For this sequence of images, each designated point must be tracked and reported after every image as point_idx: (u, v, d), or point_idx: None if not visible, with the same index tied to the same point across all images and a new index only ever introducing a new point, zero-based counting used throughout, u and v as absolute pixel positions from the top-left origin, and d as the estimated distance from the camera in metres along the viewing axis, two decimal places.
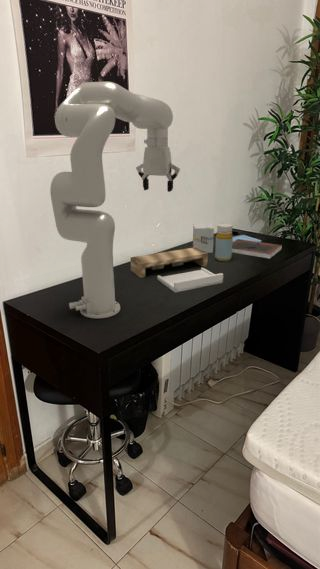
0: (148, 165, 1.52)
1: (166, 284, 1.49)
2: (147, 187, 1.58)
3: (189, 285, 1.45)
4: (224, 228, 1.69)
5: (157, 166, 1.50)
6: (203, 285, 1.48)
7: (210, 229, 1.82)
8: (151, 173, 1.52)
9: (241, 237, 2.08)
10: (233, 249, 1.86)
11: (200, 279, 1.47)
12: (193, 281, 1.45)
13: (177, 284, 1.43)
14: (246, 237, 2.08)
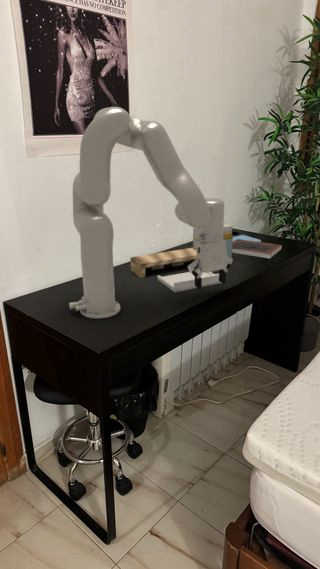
0: (208, 262, 1.35)
1: (166, 284, 1.49)
2: None
3: (189, 285, 1.45)
4: (224, 228, 1.69)
5: (218, 261, 1.36)
6: (203, 285, 1.48)
7: None
8: (211, 269, 1.36)
9: (241, 237, 2.08)
10: (233, 249, 1.86)
11: None
12: (193, 281, 1.45)
13: (177, 284, 1.43)
14: (246, 237, 2.08)
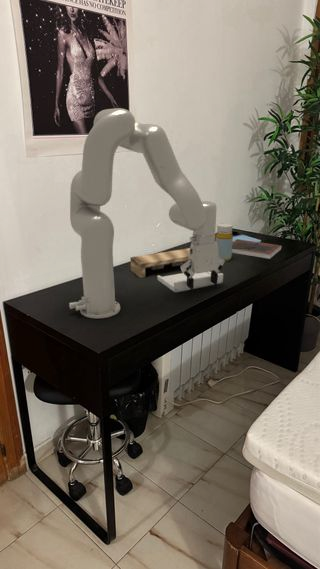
0: (200, 263, 1.39)
1: (166, 284, 1.49)
2: None
3: None
4: (224, 228, 1.69)
5: (209, 262, 1.40)
6: (203, 285, 1.48)
7: None
8: (203, 270, 1.40)
9: (241, 237, 2.08)
10: (233, 249, 1.86)
11: (200, 279, 1.47)
12: None
13: (177, 284, 1.43)
14: (246, 237, 2.08)
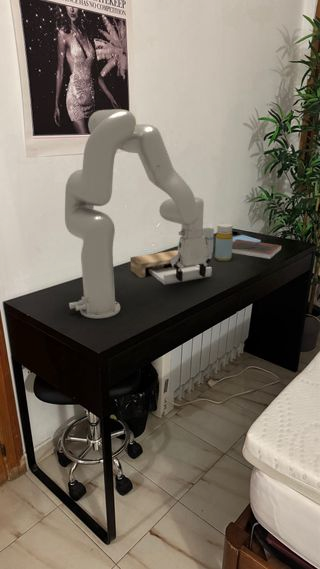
0: (189, 256, 1.45)
1: (157, 277, 1.55)
2: None
3: None
4: (224, 228, 1.69)
5: (197, 256, 1.47)
6: (192, 278, 1.55)
7: (210, 229, 1.82)
8: (191, 263, 1.47)
9: (240, 237, 2.08)
10: (233, 249, 1.85)
11: (189, 272, 1.53)
12: None
13: (167, 277, 1.50)
14: (245, 237, 2.08)
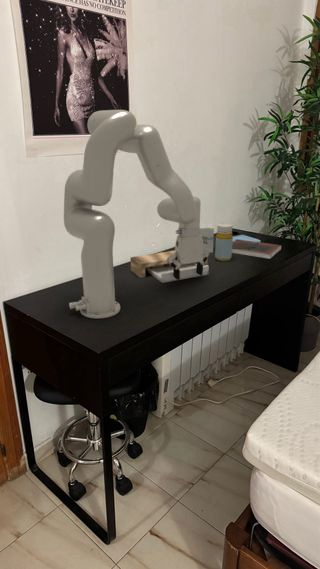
0: (186, 255, 1.47)
1: (154, 275, 1.57)
2: None
3: None
4: (224, 228, 1.69)
5: (194, 254, 1.49)
6: (189, 276, 1.56)
7: (210, 229, 1.82)
8: (188, 262, 1.49)
9: (240, 237, 2.08)
10: (233, 249, 1.85)
11: (186, 270, 1.55)
12: (180, 272, 1.54)
13: (164, 275, 1.51)
14: (245, 237, 2.08)
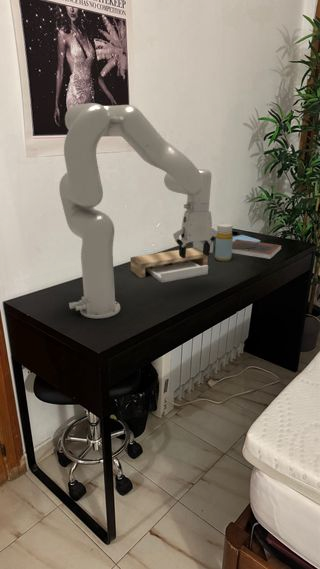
0: (193, 231, 1.38)
1: (154, 275, 1.57)
2: None
3: (175, 276, 1.54)
4: (224, 228, 1.69)
5: (202, 231, 1.40)
6: (189, 276, 1.57)
7: None
8: (195, 239, 1.40)
9: (240, 237, 2.08)
10: (233, 250, 1.85)
11: (186, 270, 1.55)
12: (179, 272, 1.54)
13: (164, 275, 1.52)
14: (245, 237, 2.08)
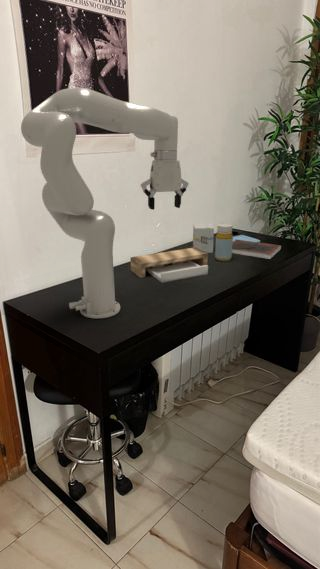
0: (161, 181, 1.35)
1: (154, 275, 1.57)
2: None
3: (175, 276, 1.54)
4: (224, 228, 1.69)
5: (171, 181, 1.36)
6: (189, 276, 1.57)
7: (210, 229, 1.82)
8: (164, 189, 1.36)
9: (240, 237, 2.08)
10: (233, 250, 1.85)
11: (186, 270, 1.55)
12: (179, 272, 1.54)
13: (164, 275, 1.52)
14: (245, 237, 2.08)
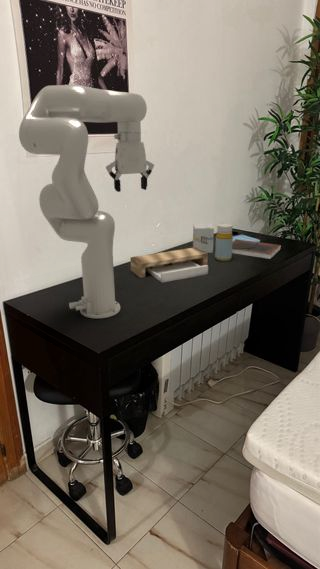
0: (126, 163, 1.36)
1: (154, 275, 1.57)
2: None
3: (175, 276, 1.54)
4: (224, 228, 1.69)
5: (136, 163, 1.37)
6: (189, 276, 1.57)
7: (210, 229, 1.82)
8: (129, 171, 1.37)
9: (240, 237, 2.08)
10: (233, 250, 1.85)
11: (186, 270, 1.55)
12: (179, 272, 1.54)
13: (164, 275, 1.52)
14: (245, 237, 2.08)
